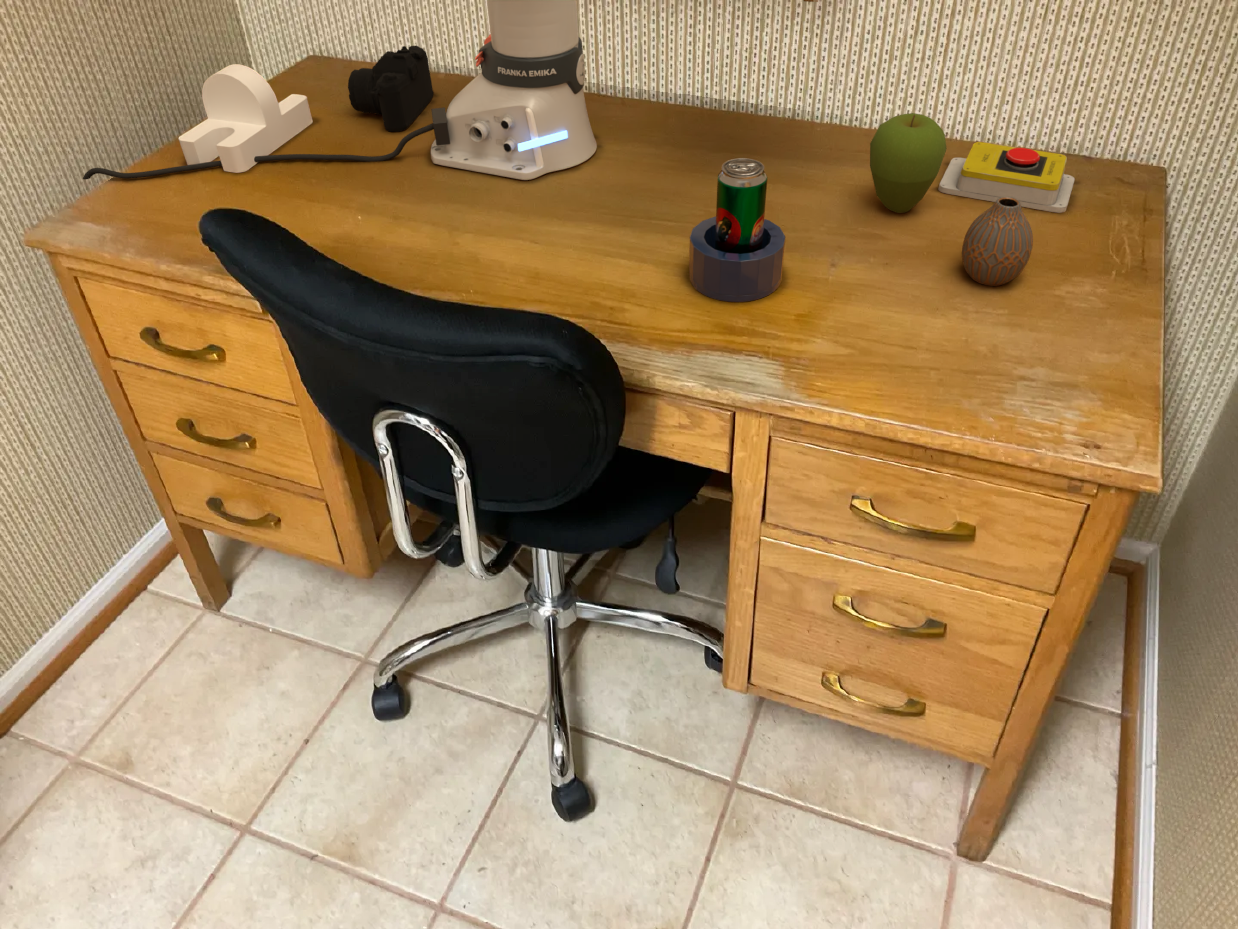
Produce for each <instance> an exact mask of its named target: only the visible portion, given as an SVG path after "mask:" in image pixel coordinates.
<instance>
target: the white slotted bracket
mask: <svg viewBox="0 0 1238 929" xmlns="http://www.w3.org/2000/svg"><path fill="white" fill-rule="evenodd" d="M201 99H202V103H203V107H204V111H205V114H206V116H207V119H204V120H203V121H201V123H198V124H197V125H195V126H194V127H192V128H191V129H189V130H187V131H186V132H184V133H183V134H180V136H179V137H178V142H179V144H180V148H181V151H182V153H183V156H184V159H185V162H186V165H192V164H199V163H206V162H213V161H215V160H216V159H217V158H219V161H220V160H221V163H222V166H221V167H222V169H223V172H228V173H229V172H230V173H237V174H239V173H244V172H247V171H249V170H250V169H252V167H254V166H256V165H257V164H258V163H259V162H255V161H254V158H255V157H256V156H267V155H272V153H274V152H275V151H276V150H277V149H279V148H280V147H281V146H283V145H285V144H287V142H289V141H290V140H291V139H293V138H294V137H296V136H297V135H298V134H300V133H301V132H302V131H304V130H305V129H306V128H308V127H309V126H310V125H313V117H312V113H311V109H310V105H309V104H310V103H309V101H308V96H306V95H303V94H296V93H291V94H290V95H288V96H287V97H286V98H284V99H282V100H281V101H279V100H278V99H277V96H276V94H275V91H274V90H273V88H272V87H271V85H270V83H269V82H268V81H267V80H266V79H265V78H264V76H263V75H261V74H260V73H259V72H257V70H255V69H253V68H251V67H249V66H248V65H243V64H240V63H236V64H235V63H233V64H229V65H228V66H227V65H226V66H225V67H223V68H222V69H221V70H219V71H216V72H215V73H213V74H211V75H210V76H208V78H206V80H205V81H204V82H203V84H202V88H201Z"/></svg>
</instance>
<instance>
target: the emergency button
mask: <svg viewBox="0 0 1238 929" xmlns="http://www.w3.org/2000/svg"><path fill="white" fill-rule="evenodd" d="M1067 161H1068V157H1067V156H1066V155H1065V154H1061V153H1056V152H1049V151H1042V150H1035V149H1031V148H1028V147H1027V148H1026V147H1015V146H1011V145H1004V144H1003V145H1002V144H997V143H991V142H983V141H977V142H974V143H973V144H972V146H971V149H970V150H969V152H968V154H967V157H965V158H964V157H953V158H951V160H950V162H949V164H948V166H947V167H946V170H945V172H944V174H943V176H942V178H941V180H940V182H939V185H938V191H939V192H940V193H943V194H947V195H951V196H959V197H965V198H969V199H974V200H975V199H976V200H980V201H981V200H982V201H987V202H992V203H995V201H996V200H997V199H998V198H1001V197H1012V198H1015V199H1017V200H1019V201H1020V203H1021V207H1022V208H1028V209H1035V210H1038V211H1039V210H1040V211H1046V212H1050V213H1051V212H1052V213H1058V214H1061V213H1065V212H1066V211H1067V208H1068V205H1069V202H1070V197H1071V194H1072V190H1073V188H1074V185H1075V184H1074V183H1075V181H1076V179H1075V177H1074V176H1073V175H1070V174H1067V173H1066V174H1065V170H1066V165H1067Z"/></svg>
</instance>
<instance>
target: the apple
mask: <svg viewBox="0 0 1238 929" xmlns="http://www.w3.org/2000/svg"><path fill="white" fill-rule="evenodd" d="M947 150H948V149H947V139H946V134H945V132H944V129H942V127H941V126H940V124H938V123H937V121H935V120H934V119H932V118H931V117H930V116H927V115H925V114H921V113H915V112H909V113H902V114H899V115H895V116H893V117H891V118H889V119H887V120H886V121H884V122H882V123H881V124H879V126H878V128H877V130H876V132H875V134H874V135H873V137H872V139H871V141H870V142H869V168H870V172H871V178H872V181H873V186H874V191H875V196H876V197H877V198H878V200H879V201H880V202H881V203H882V205H883V206H884V208H886V209H887V210H889V211H891V212H894V213H896V214H904V213H908V212H910V211H911V209H913V208H914V207H915V206H916V205H917V204H918V203H919V202H921V201H922V200H923V198H924V196H925V195H926V193H928V190H929V189H930V187H932V186H931V185H932V184H933V182H934V181H935V180H936V178H937V176H938V174H939V172H940V170H941V166H942V164H943V160H944V158H945V155H946V151H947Z"/></svg>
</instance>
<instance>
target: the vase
mask: <svg viewBox="0 0 1238 929" xmlns="http://www.w3.org/2000/svg"><path fill="white" fill-rule="evenodd" d="M1033 235H1034V234H1033V230H1032V226H1031V224H1030V222H1029V220H1028V218H1027V216H1026V215H1025V213H1024V211H1023V207H1021V203H1020V201H1019V200H1017V199H1015V198H1012V197H1001V198H998V199H997V200H996V201H995V202H993V204H992V205H991V206H990V207H989V208H987V209H986V210H985V211H983V212H982V213H980V214H979V215H978V216H976V218H975V219H973V221H972V222H971V224H970V225H969V227H968V229H967V231H966V233H965V235H964V238H963V242H962V245H961V247H962V248H961V260H962V265H963V268H964V269H965V272H966V273H967V275H968V276H969V277H970V278H971V279H972V280H973V281H975V282H976V283H978V284H981V285H985V286H990V287H991V286H992V287H997V286H1002V285H1005V284H1007V283H1009V282H1011V281H1013V280H1014V279H1016V278H1017V277H1018V276H1019V275H1020V274H1021V273H1022V272H1023V270H1024V269H1025V268H1026V266H1027V264H1028V262H1029V260H1030V257H1031V255H1032V251H1033V245H1034V237H1033Z"/></svg>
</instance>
